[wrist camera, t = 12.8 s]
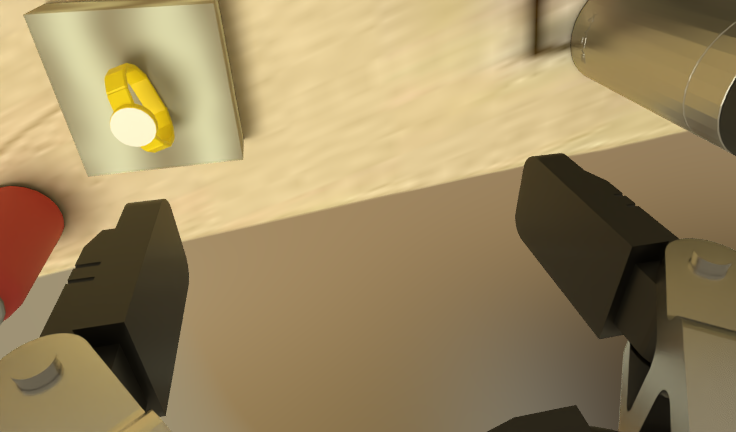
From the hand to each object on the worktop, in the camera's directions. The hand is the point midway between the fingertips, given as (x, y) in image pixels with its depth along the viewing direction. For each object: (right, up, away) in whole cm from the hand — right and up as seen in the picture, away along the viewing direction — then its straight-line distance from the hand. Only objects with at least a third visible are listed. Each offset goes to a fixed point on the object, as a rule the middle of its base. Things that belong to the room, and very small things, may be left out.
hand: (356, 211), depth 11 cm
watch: (-16, +9, +25) cm, 31 cm away
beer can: (-30, 0, +32) cm, 44 cm away
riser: (-17, +11, +28) cm, 34 cm away
